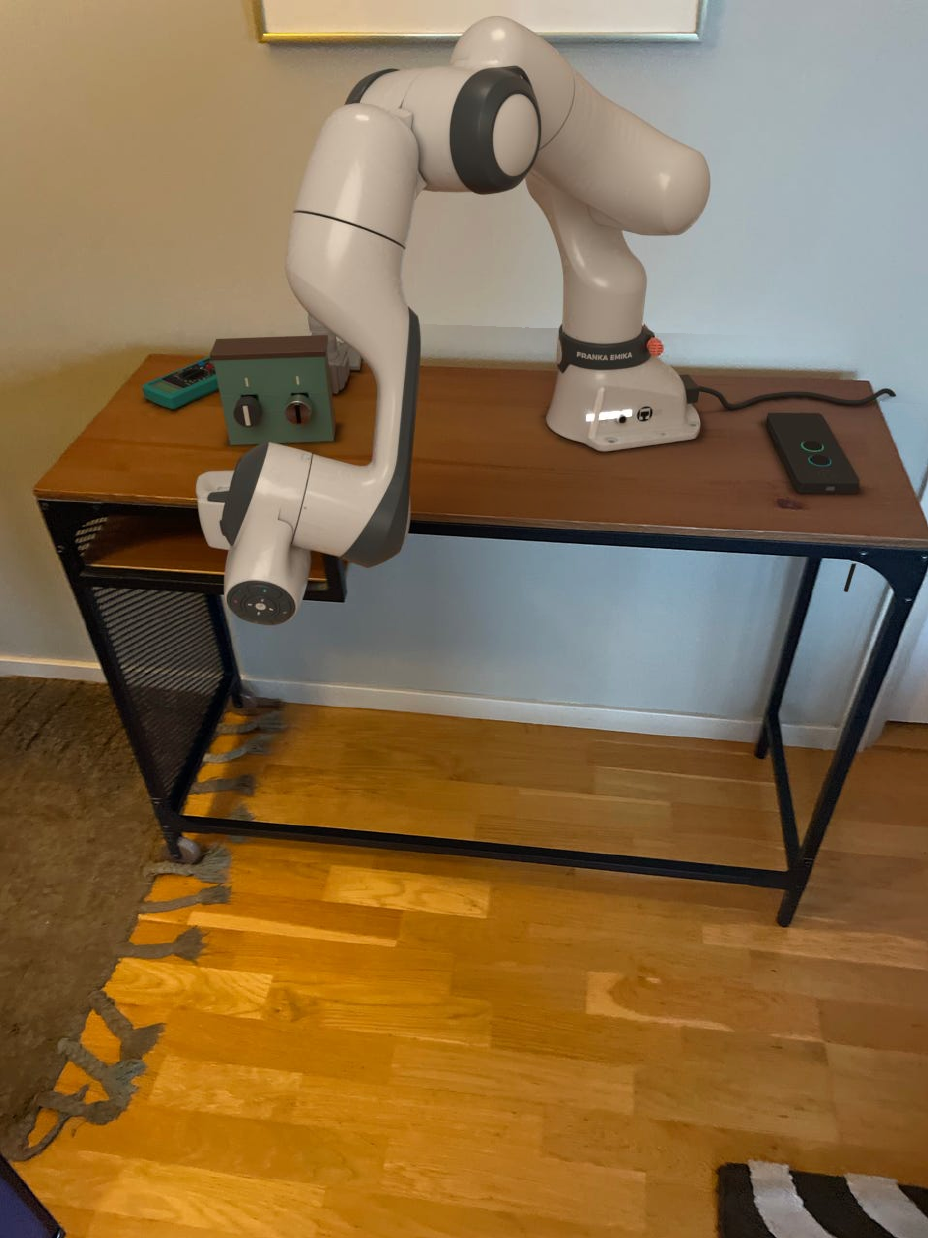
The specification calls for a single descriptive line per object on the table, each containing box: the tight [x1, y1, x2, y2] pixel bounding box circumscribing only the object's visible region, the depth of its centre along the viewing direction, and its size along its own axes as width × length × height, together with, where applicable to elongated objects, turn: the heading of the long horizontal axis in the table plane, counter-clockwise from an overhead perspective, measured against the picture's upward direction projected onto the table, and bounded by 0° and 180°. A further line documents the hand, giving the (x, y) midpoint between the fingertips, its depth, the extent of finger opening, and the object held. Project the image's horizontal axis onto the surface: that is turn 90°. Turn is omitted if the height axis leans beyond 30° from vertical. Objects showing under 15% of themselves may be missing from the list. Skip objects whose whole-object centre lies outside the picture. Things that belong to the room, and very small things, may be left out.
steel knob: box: [285, 393, 312, 425], centre depth 127 cm, size 6×4×4 cm, turn 3°
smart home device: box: [764, 412, 861, 495], centre depth 126 cm, size 8×2×20 cm
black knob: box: [233, 395, 262, 427], centre depth 127 cm, size 6×4×4 cm, turn 3°
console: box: [209, 335, 337, 446], centre depth 130 cm, size 6×16×14 cm, turn 93°
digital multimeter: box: [141, 355, 219, 411], centre depth 145 cm, size 7×15×3 cm, turn 142°
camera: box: [307, 312, 363, 395], centre depth 146 cm, size 9×12×15 cm
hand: (289, 460), depth 115 cm, fingers closed
